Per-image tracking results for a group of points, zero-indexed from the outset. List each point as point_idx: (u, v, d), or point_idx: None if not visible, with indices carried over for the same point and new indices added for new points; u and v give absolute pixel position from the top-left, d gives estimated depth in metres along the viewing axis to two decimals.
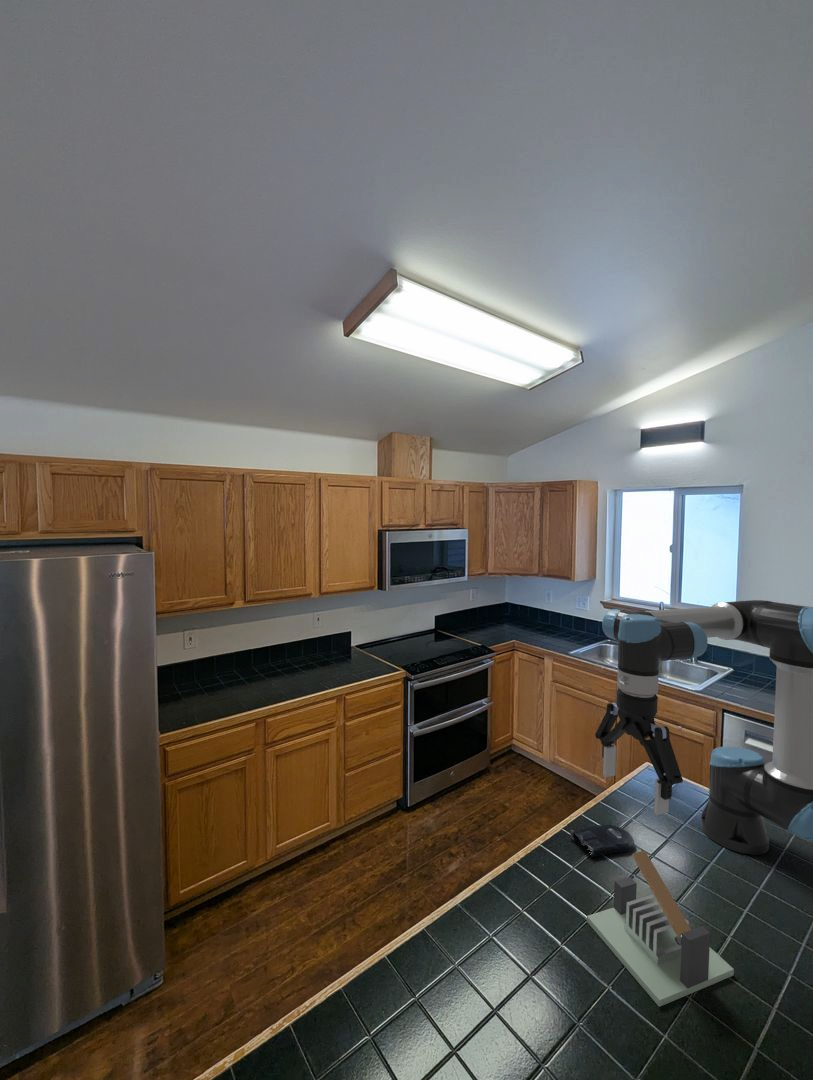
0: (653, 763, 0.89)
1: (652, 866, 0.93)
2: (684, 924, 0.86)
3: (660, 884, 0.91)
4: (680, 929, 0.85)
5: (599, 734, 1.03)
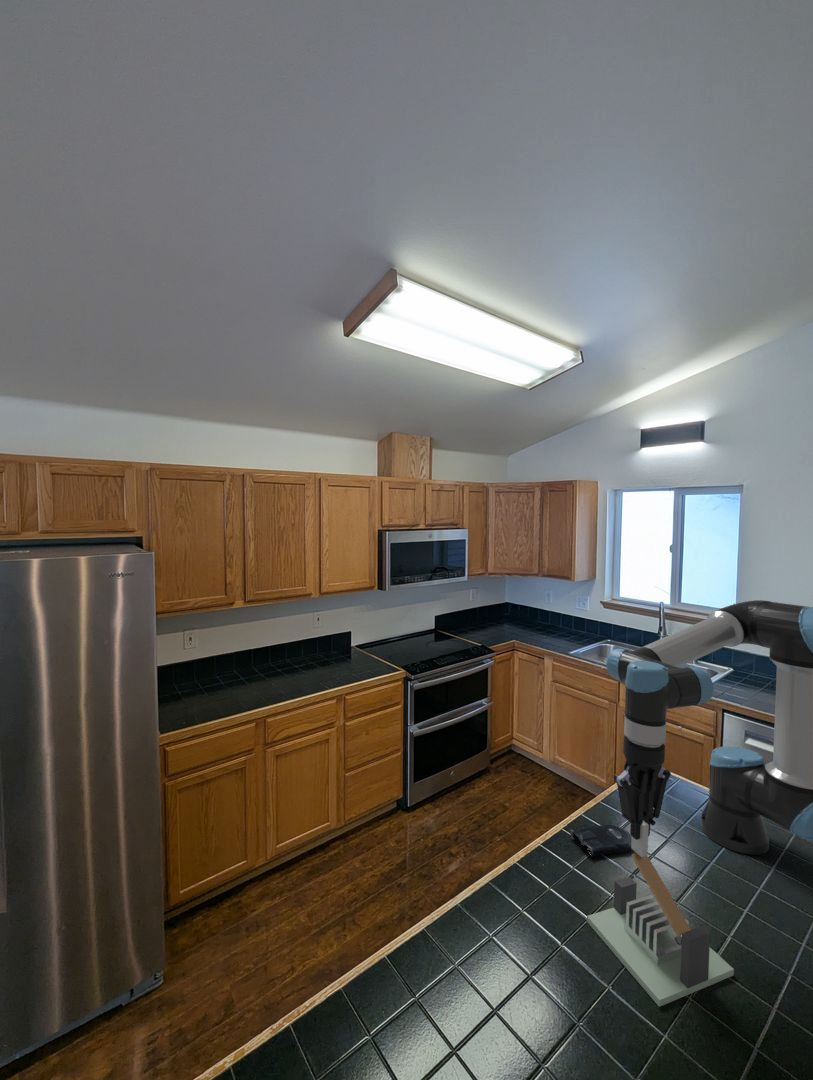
0: None
1: (652, 866, 0.93)
2: (684, 924, 0.86)
3: (660, 885, 0.91)
4: (680, 929, 0.85)
5: None
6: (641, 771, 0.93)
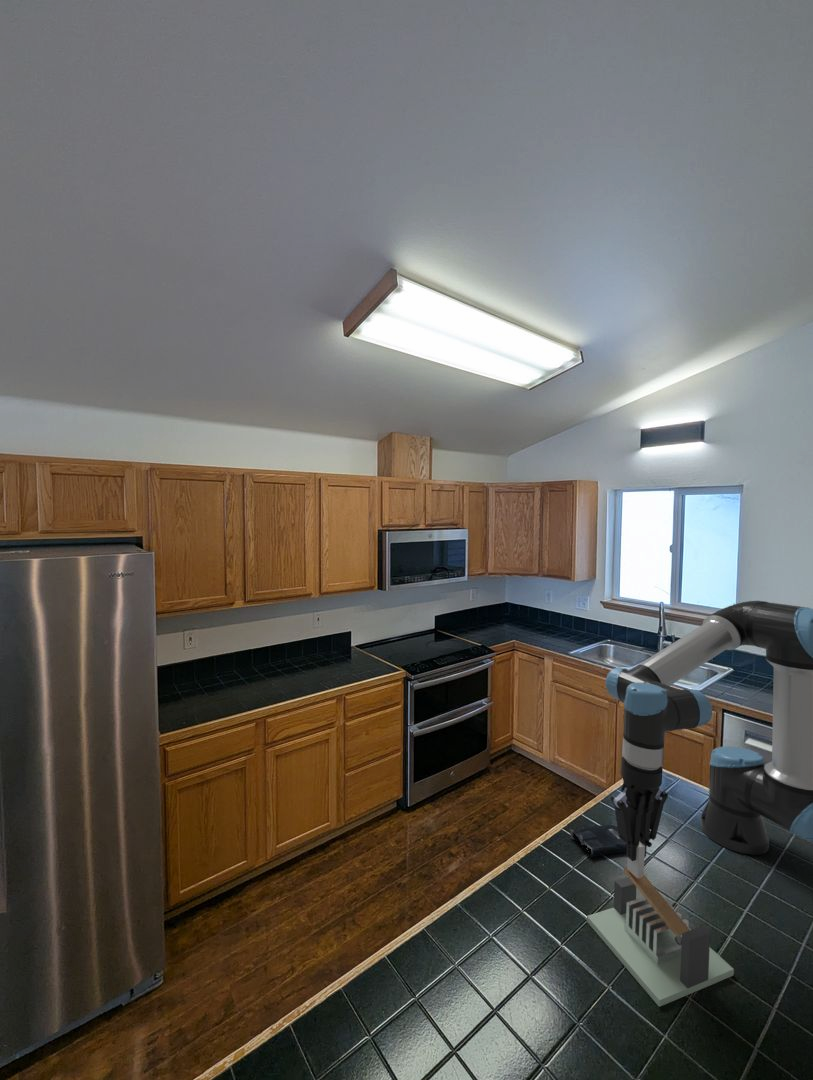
0: None
1: (644, 877, 0.95)
2: (682, 925, 0.86)
3: (654, 892, 0.92)
4: (678, 929, 0.86)
5: None
6: (638, 793, 0.93)
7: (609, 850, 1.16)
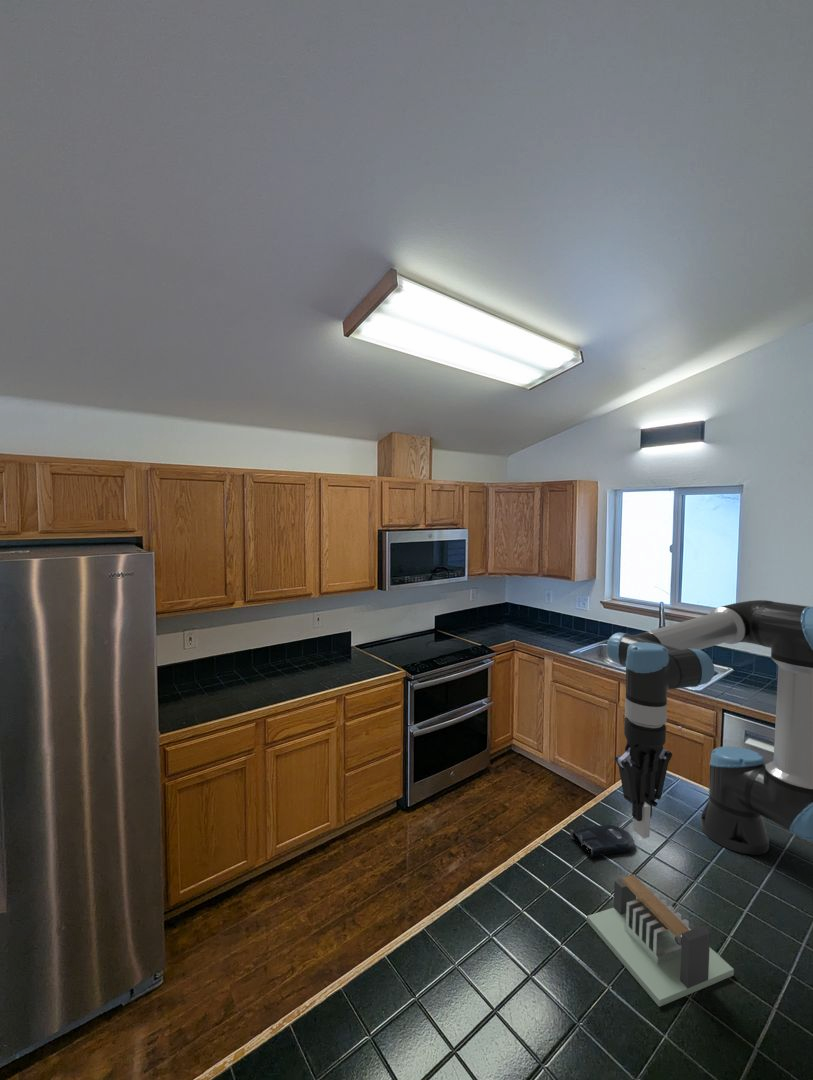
0: None
1: (642, 885, 0.95)
2: (682, 926, 0.86)
3: (652, 898, 0.92)
4: (678, 930, 0.86)
5: None
6: (642, 752, 0.92)
7: (609, 850, 1.16)
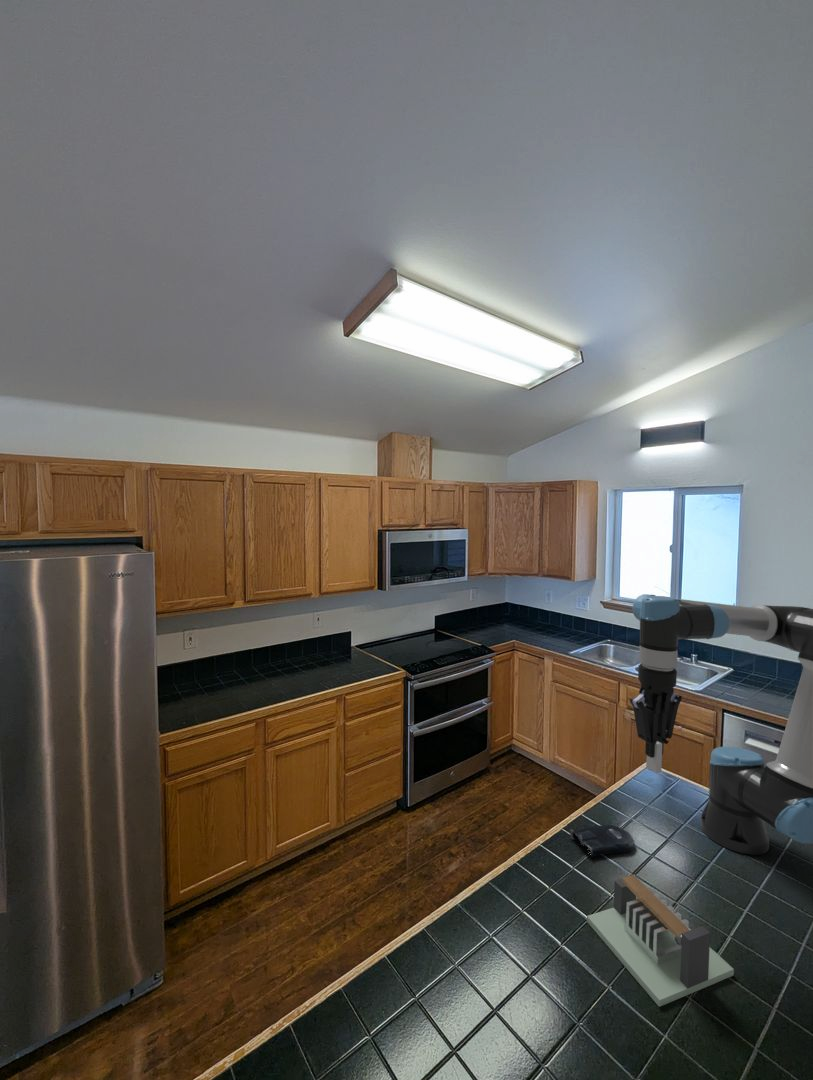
0: None
1: (642, 885, 0.95)
2: (682, 926, 0.86)
3: (652, 898, 0.92)
4: (678, 930, 0.86)
5: None
6: (655, 694, 1.01)
7: (609, 850, 1.16)
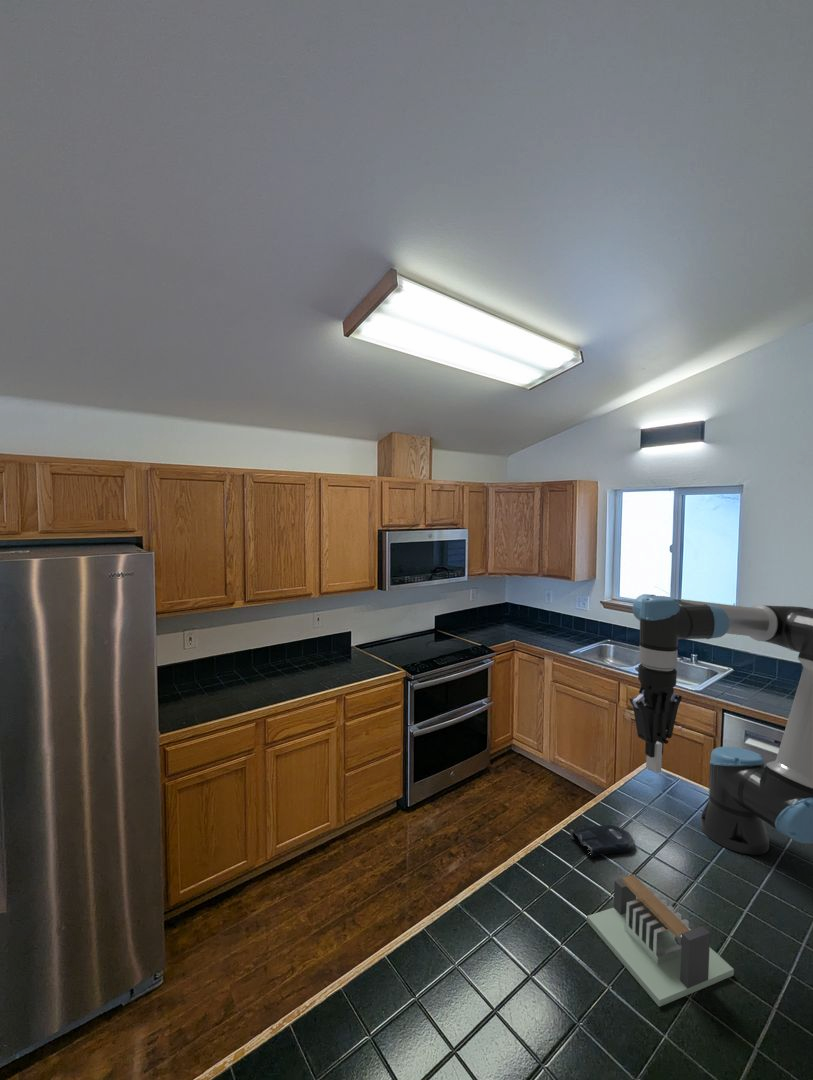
0: None
1: (642, 885, 0.95)
2: (682, 926, 0.86)
3: (652, 898, 0.92)
4: (678, 930, 0.86)
5: None
6: (655, 694, 1.01)
7: (609, 850, 1.16)
